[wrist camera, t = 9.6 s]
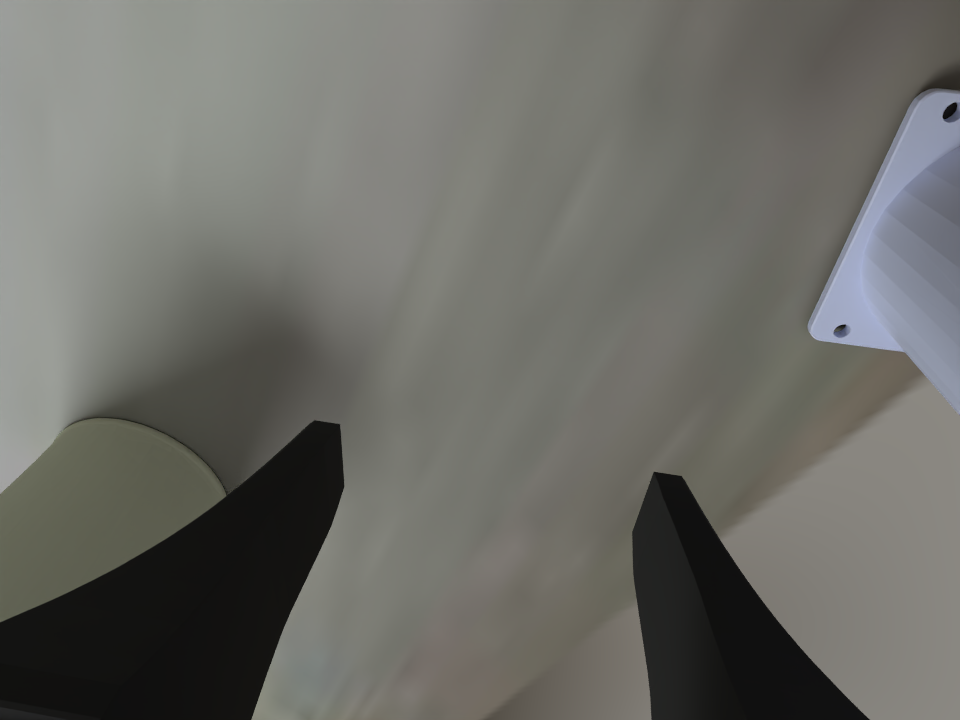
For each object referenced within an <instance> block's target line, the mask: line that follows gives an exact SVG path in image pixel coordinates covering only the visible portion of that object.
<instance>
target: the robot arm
mask: <svg viewBox="0 0 960 720" xmlns="http://www.w3.org/2000/svg"><path fill="white" fill-rule="evenodd" d="M955 102H956V103H957V109H956V111H955V113H954V114H953V115H952V116H951V117H949V118H947V119H943V117H942V116H943V112H944V110H945V109H946V108H947V106H949V105H950V104H952V103H955ZM844 324H846V326H845V328H844V329H843V330H841V331H838V332H834V329H835V328H836V327H837V326H839V325H844ZM808 330H809V332H810V334H811V335H812V336H813V337H814V338H815V339H817V340H820V341H826V342H834V343H841V344H849V345H856V346H864V347H871V348H879V349H886V350H894V351H901V352H905V353H906V354H907V355H908V356H909V357H910V358H911V360H912V361H913V362H914V363H915V364H916V365H917V367H918V368H919V369H920V370H921V371H922V372H923V374H924V375H925V376H926V377H927V378H928V379H929V380H930V382H931V383H932V384H933V385H934V386H935V387H936V389H937V390H938V391H939V392H940V393H941V394H942V396H943V397H944V398H945V399H946V400H947V401H948V403H949V404H950V405H951V406H952V407H953V408H954V409H955V411H956V412H957V413H958V414H959V415H960V91H959V90H950V89H941V88H934V89H929V90H926V91H924V92H922V93H920V94H919V95H918V96H917V97H916V98H915V99H914V100H913V101H912V103H911V104H910V106H909V108H908V110H907V112H906V115H905V117H904V119H903V121H902V123H901V125H900V127H899V130H898V132H897V134H896V136H895V138H894V140H893V142H892V145H891V147H890V149H889V151H888V153H887V155H886V157H885V160H884V162H883V164H882V166H881V168H880V170H879V172H878V174H877V177H876V179H875V181H874V183H873V185H872V187H871V189H870V192H869V194H868V196H867V198H866V200H865V202H864V204H863V207H862V209H861V211H860V213H859V215H858V217H857V219H856V222H855V224H854V226H853V228H852V230H851V232H850V234H849V237H848V239H847V241H846V243H845V245H844V247H843V249H842V251H841V254H840V256H839V258H838V260H837V262H836V264H835V266H834V269H833V271H832V273H831V275H830V277H829V279H828V281H827V284H826V286H825V288H824V290H823V292H822V294H821V296H820V299H819V301H818V303H817V305H816V307H815V309H814V311H813V314H812V316H811V318H810V320H809V322H808ZM343 489H344V474H343V460H342V445H341V430H340V424H335V423H328V422H322V421H315V420H314V421H313V422H312V423H310V424H309V425H308V426H307V427H306V428H305V429H304V430H303V431H301V432H300V433H299V434H298V435H297V436H296V437H295V438H294V439H293V440H292V441H291V442H290V443H288V444H287V445H286V446H285V447H284V448H283V449H282V450H281V451H280V452H278V453H277V454H276V455H275V456H274V457H273V458H272V459H271V460H269V461H268V462H267V463H266V464H265V465H264V466H262V467H261V468H260V469H259V470H258V471H257V472H255V473H254V474H253V475H252V476H251V477H250V478H248V479H247V480H246V481H245V482H244V483H242V484H241V485H240V486H239V487H237V488H236V489H235V490H233V491H232V492H231V493H230V494H228V495H227V496H226V497H224V498H223V499H222V500H221V501H219V502H218V503H217V504H215V505H214V506H213V507H211V508H210V509H209V510H207V511H206V512H205V513H203V514H202V515H200V516H199V517H198V518H196V519H195V520H193V521H192V522H190V523H189V524H188V525H186V526H185V527H183V528H182V529H180V530H179V531H177V532H176V533H174V534H173V535H171V536H169V537H168V538H166V539H165V540H163V541H161V542H160V543H158V544H156V545H155V546H153V547H152V548H150V549H148V550H147V551H145V552H143V553H141V554H140V555H138V556H136V557H134V558H133V559H131V560H129V561H128V562H126V563H124V564H122V565H121V566H119V567H117V568H115V569H113V570H111V571H109V572H108V573H106V574H104V575H102V576H100V577H98V578H96V579H94V580H92V581H90V582H88V583H86V584H84V585H82V586H80V587H78V588H76V589H74V590H72V591H70V592H68V593H66V594H63V595H61V596H59V597H57V598H55V599H53V600H50V601H48V602H46V603H44V604H41V605H39V606H37V607H34V608H32V609H30V610H27V611H25V612H23V613H20V614H18V615H16V616H13V617H11V618H9V619H6V620H4V621H2V622H0V720H251V719H252V716H253V713H254V710H255V707H256V704H257V701H258V698H259V695H260V692H261V690H262V687H263V684H264V681H265V678H266V675H267V672H268V669H269V667H270V664H271V661H272V658H273V656H274V653H275V650H276V647H277V645H278V642H279V639H280V636H281V634H282V631H283V629H284V626H285V624H286V622H287V619H288V617H289V615H290V612H291V610H292V608H293V606H294V604H295V602H296V600H297V598H298V595H299V593H300V591H301V589H302V587H303V585H304V583H305V581H306V579H307V577H308V574H309V572H310V570H311V568H312V566H313V564H314V562H315V560H316V558H317V556H318V553H319V551H320V549H321V547H322V545H323V543H324V541H325V538H326V536H327V534H328V532H329V530H330V528H331V525H332V522H333V519H334V516H335V514H336V511H337V508H338V505H339V501H340V498H341V495H342V492H343ZM632 536H633V575H634V582H635V590H636V597H637V603H638V610H639V617H640V624H641V630H642V637H643V644H644V650H645V656H646V664H647V670H648V678H649V687H650V697H651V716H652V720H869V719H868V718H867V717H866V716H865V715H864V714H863V713H862V712H861V711H860V710H859V709H858V708H857V707H856V706H855V705H854V704H853V703H852V702H851V701H850V700H849V699H848V698H847V697H846V696H845V695H844V694H843V693H842V692H841V691H840V690H839V689H838V688H837V687H836V686H835V685H834V684H833V682H832V681H831V680H830V679H829V678H828V677H827V676H826V675H825V674H824V673H823V672H822V671H821V670H820V669H819V668H818V667H817V666H816V665H815V664H814V663H813V661H812V660H811V659H810V658H809V657H808V656H807V655H806V654H805V653H804V651H803V650H802V649H801V648H800V647H799V646H798V645H797V643H796V642H795V641H794V640H793V639H792V637H791V636H790V635H789V634H788V633H787V632H786V630H785V629H784V628H783V627H782V626H781V624H780V623H779V622H778V621H777V620H776V618H775V617H774V616H773V614H772V613H771V612H770V610H769V609H768V608H767V607H766V605H765V604H764V603H763V601H762V600H761V599H760V597H759V596H758V595H757V593H756V592H755V590H754V589H753V588H752V586H751V585H750V584H749V582H748V581H747V579H746V578H745V576H744V575H743V574H742V572H741V571H740V569H739V568H738V566H737V565H736V563H735V562H734V560H733V559H732V557H731V556H730V554H729V553H728V551H727V550H726V548H725V547H724V545H723V544H722V542H721V541H720V539H719V537H718V536H717V534H716V533H715V531H714V529H713V528H712V526H711V524H710V523H709V521H708V519H707V518H706V516H705V515H704V513H703V511H702V509H701V508H700V506H699V504H698V503H697V501H696V499H695V498H694V496H693V494H692V492H691V491H690V489H689V487H688V485H687V484H686V482H685V480H684V479H683V478H682V476H678V475H671V474H664V473H658V472H654V473H653V476H652V478H651V481H650V484H649V487H648V490H647V492H646V495H645V498H644V501H643V504H642V506H641V509H640V512H639V515H638V518H637V520H636V523H635V526H634V529H633V532H632Z"/></svg>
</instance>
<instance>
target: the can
mask: <svg viewBox="0 0 960 720" xmlns="http://www.w3.org/2000/svg"><path fill="white" fill-rule="evenodd" d="M226 496H227V495H226V493H225V490H224V488H223V486H222V484H221V482H220V481H219V479H218V478H217V476H216V475H215V474H214V472H213V471H212V470H211V469H210V467H209V466H208V465H207V464H206V463H205V462H204V461H203V460H202V459H201V458H199V457H198V456H197V455H196V454H195V453H194V452H192V451H191V450H190V449H189V448H187V447H186V446H184V445H183V444H181V443H180V442H178V441H176V440H175V439H173V438H171V437H170V436H168V435H166V434H164V433H162V432H159V431H157V430H155V429H153V428H150V427H147V426H144V425H142V424H138V423H134V422H130V421H127V420H121V419H112V418H94V419H86V420H83V421H79V422H76V423H74V424H72V425H70V426H68V427H67V428H65V429H64V430H63V431H62V432H61V433H60V434H59V435H58V436H57V437H56V439H55V440H54V442H53V444H52V445H51V446H50V447H49V448H48V449H47V450H46V451H45V452H44V453H43V454H42V455H41V456H40V457H39V458H38V459H37V460H36V461H35V462H34V463H33V464H32V465H31V466H30V467H29V468H28V469H26V470H25V471H24V472H23V473H22V474H21V475H20V476H19V477H18V478H17V479H16V480H15V481H14V482H13V483H12V484H11V485H10V486H8V487H7V488H6V489H5V490H4V491H3V492H2V493H1V494H0V622H2V621H4V620H6V619H9V618H11V617H13V616H16V615H18V614H20V613H23V612H25V611H27V610H30V609H32V608H34V607H37V606H39V605H41V604H44V603H46V602H48V601H50V600H53V599H55V598H57V597H59V596H61V595H63V594H66V593H68V592H70V591H72V590H74V589H76V588H78V587H80V586H82V585H84V584H86V583H88V582H90V581H92V580H94V579H96V578H98V577H100V576H102V575H104V574H106V573H108V572H109V571H111V570H113V569H115V568H117V567H119V566H121V565H122V564H124V563H126V562H128V561H129V560H131V559H133V558H134V557H136V556H138V555H140V554H141V553H143V552H145V551H147V550H148V549H150V548H152V547H153V546H155V545H156V544H158V543H160V542H161V541H163V540H165V539H166V538H168V537H169V536H171V535H173V534H174V533H176V532H177V531H179V530H180V529H182V528H183V527H185V526H186V525H188V524H189V523H190V522H192V521H193V520H195V519H196V518H198V517H199V516H200V515H202V514H203V513H205V512H206V511H207V510H209V509H210V508H211V507H213V506H214V505H215V504H217V503H218V502H219V501H221V500H222V499H223V498H224V497H226Z"/></svg>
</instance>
